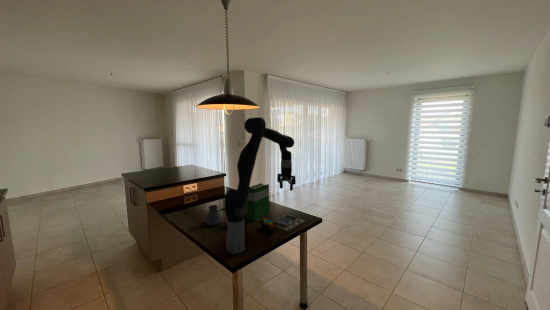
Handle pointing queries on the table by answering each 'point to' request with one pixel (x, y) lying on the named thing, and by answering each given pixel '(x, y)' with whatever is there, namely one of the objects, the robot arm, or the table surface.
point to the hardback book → (258, 201)
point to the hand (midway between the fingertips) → (286, 189)
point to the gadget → (268, 225)
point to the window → (287, 222)
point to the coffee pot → (213, 216)
